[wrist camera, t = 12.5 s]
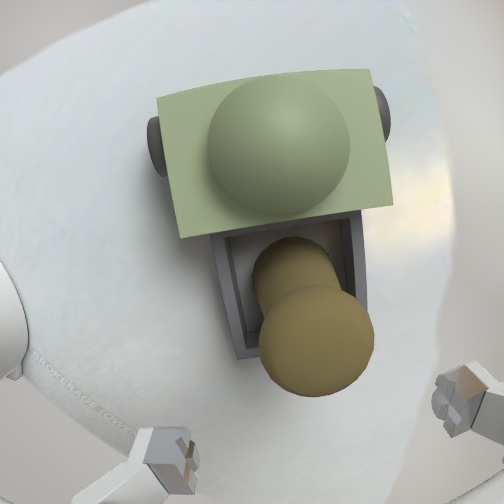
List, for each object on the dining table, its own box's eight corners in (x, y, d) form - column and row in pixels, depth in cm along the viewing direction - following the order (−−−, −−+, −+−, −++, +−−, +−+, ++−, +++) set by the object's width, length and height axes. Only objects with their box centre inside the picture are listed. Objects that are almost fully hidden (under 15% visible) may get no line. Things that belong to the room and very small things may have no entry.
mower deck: (209, 345, 23) (196, 394, 17) (162, 119, 19) (128, 99, 13) (384, 315, 22) (417, 354, 16) (360, 90, 18) (395, 63, 12)
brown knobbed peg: (264, 324, 23) (270, 429, 12) (241, 250, 21) (227, 320, 11) (340, 302, 22) (396, 392, 12) (323, 226, 21) (386, 273, 10)
